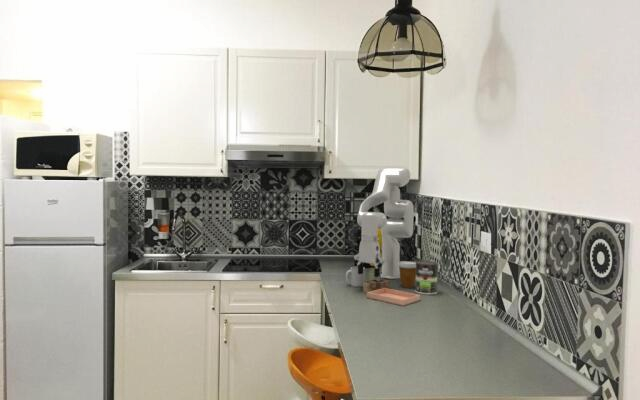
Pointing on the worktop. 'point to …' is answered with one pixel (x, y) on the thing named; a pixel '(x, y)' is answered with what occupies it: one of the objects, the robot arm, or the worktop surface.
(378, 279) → the grey piece
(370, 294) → the tray
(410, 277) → the disposable coffee cup
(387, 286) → the brown square frame
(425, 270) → the coffee can
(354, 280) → the cup
